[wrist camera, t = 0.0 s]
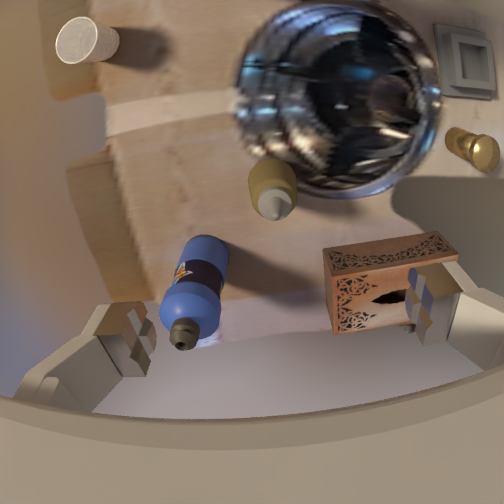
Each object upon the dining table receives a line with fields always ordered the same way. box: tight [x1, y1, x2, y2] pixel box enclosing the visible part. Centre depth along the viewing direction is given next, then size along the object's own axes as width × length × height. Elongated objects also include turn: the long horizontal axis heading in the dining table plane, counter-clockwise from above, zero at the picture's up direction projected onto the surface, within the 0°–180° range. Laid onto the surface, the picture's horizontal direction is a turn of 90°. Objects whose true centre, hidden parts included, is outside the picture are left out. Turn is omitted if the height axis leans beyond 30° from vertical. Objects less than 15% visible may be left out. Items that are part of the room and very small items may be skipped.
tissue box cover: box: [323, 231, 459, 335], centre depth 61 cm, size 26×14×10 cm, turn 100°
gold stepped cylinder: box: [445, 127, 500, 173], centre depth 46 cm, size 6×6×11 cm
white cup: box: [56, 17, 120, 64], centre depth 39 cm, size 8×8×10 cm
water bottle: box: [159, 235, 229, 351], centre depth 54 cm, size 9×9×25 cm
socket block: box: [433, 24, 496, 99], centre depth 41 cm, size 14×12×4 cm
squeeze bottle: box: [248, 159, 297, 221], centre depth 48 cm, size 8×8×18 cm
